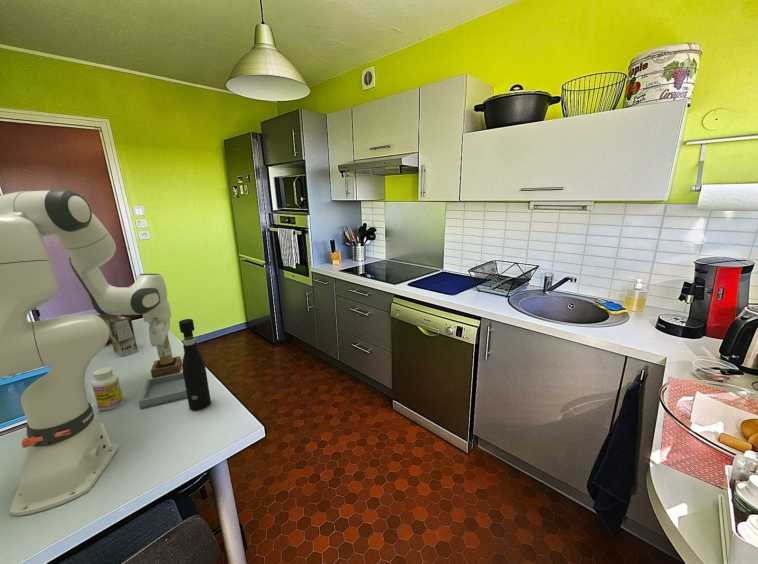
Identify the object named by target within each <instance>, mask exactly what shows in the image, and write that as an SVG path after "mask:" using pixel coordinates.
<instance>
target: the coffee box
mask: <svg viewBox="0 0 758 564" xmlns="http://www.w3.org/2000/svg"><path fill="white" fill-rule="evenodd" d="M107 324H108V328H109V333H110V337H111V341H110V342H111V345H112V349H113V352H114V353H115V354H117V355H118V356H120V357H127V356H129V355H132V354H135V353H138V352H139V350H138V346H137V340H136V336H135V332H134V327H133V322H132V318H131V317H128V316H127V315H120V316H118V317H114V318H111V319H107Z"/></svg>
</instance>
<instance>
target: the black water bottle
mask: <svg viewBox="0 0 758 564" xmlns="http://www.w3.org/2000/svg"><path fill="white" fill-rule="evenodd" d="M178 326H179V332H180V333H181V334H183V339H182V342H183V347H182V348H183V352H184V353H183V358H182V361H181V362H182V367H181V371H182V372H183V376H184V381H185V387H186V392H187V398H186V399H187V402H188V408H189V410H190V411H193V412H198V411H199V412H200V411H203V410H204V409H207V408H208V407H210V405H211V404H212V400H211V394H210V389H209V380H208V376H207V370H206V363H205V360H204V358H203V355H202V354H201V353H200V351H199V349H198V344H197V341H196V338H195V336H194V333H193V332H194V331H195V324H194V320H193V318H192V319H191V318H186V319H182V320H180V321H178Z"/></svg>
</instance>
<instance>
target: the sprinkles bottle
mask: <svg viewBox="0 0 758 564" xmlns="http://www.w3.org/2000/svg"><path fill="white" fill-rule="evenodd" d="M170 343H171V342H170V340H169V331H167V329H166V338H165V341H164V345H165V351H163V352H160V351H159V348H158V346H156V350H157V355H158V358H159V360H160V364H162V365H165V364H169V363H171V362H172V361H173V357H174V356H173V353H172V348H171V345H170Z"/></svg>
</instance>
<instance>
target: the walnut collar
mask: <svg viewBox="0 0 758 564" xmlns="http://www.w3.org/2000/svg"><path fill="white" fill-rule="evenodd" d="M172 357H173V361H172V362H171V363H169V364H165V365H162V364H160V359H158V360H154V362H153V364H152V367H151V370H150V375H151V379H152V378H157V377H161V376H166V375H171V374H176V373H181V372H180V371H182V362H183V361H182V358H181V355H178V356H172Z"/></svg>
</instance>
